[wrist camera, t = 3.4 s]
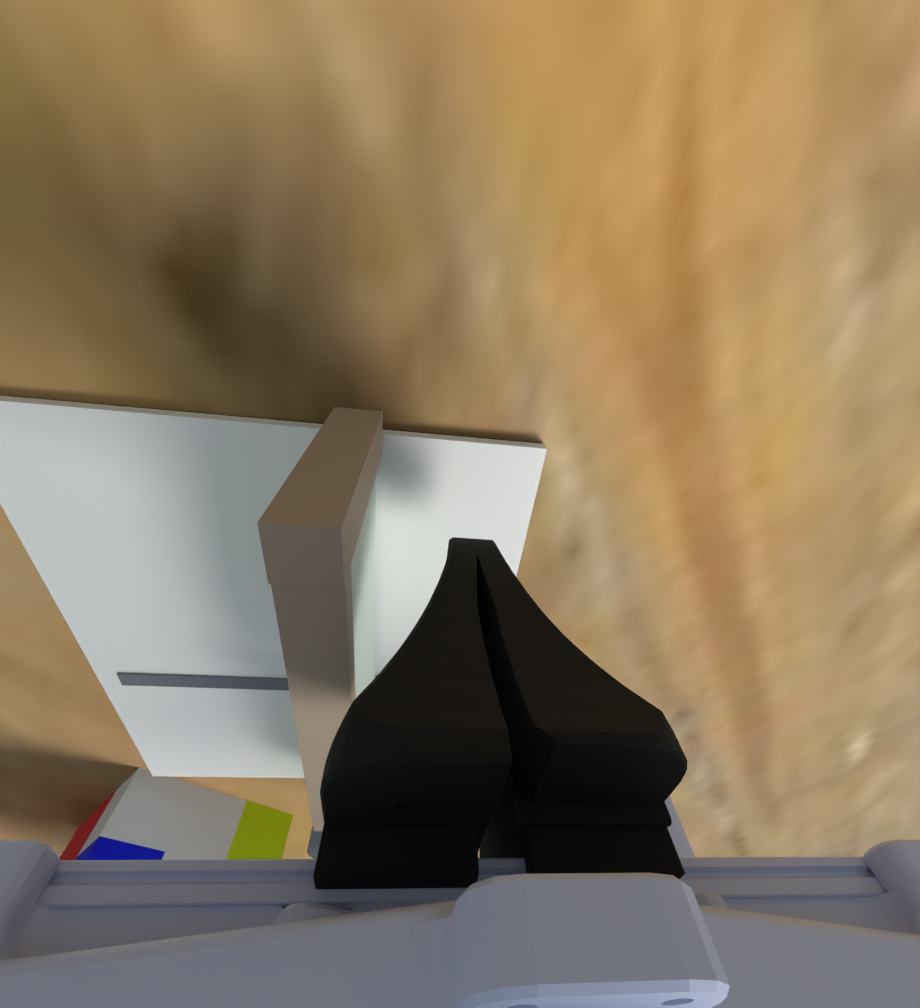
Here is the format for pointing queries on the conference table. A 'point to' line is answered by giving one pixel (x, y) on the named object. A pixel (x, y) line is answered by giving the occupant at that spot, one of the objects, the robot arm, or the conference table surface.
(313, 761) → the framed panel
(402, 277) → the conference table surface
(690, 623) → the conference table surface
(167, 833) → the puzzle toy
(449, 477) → the card
